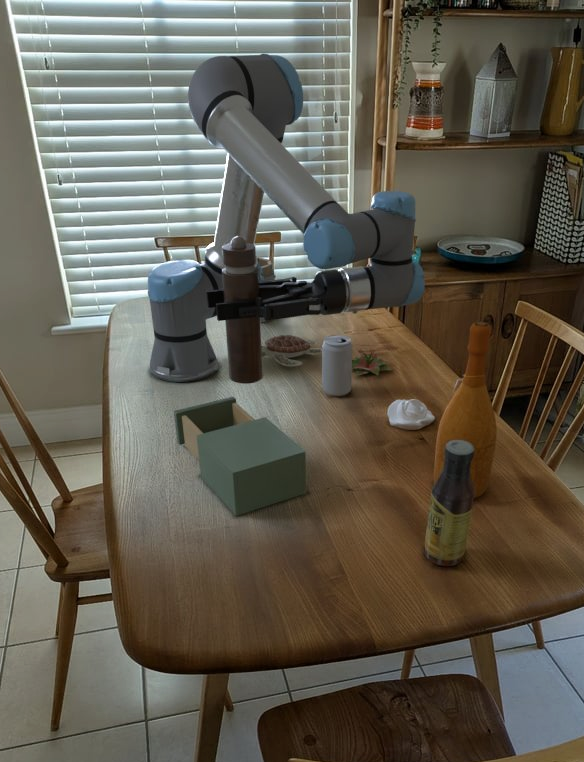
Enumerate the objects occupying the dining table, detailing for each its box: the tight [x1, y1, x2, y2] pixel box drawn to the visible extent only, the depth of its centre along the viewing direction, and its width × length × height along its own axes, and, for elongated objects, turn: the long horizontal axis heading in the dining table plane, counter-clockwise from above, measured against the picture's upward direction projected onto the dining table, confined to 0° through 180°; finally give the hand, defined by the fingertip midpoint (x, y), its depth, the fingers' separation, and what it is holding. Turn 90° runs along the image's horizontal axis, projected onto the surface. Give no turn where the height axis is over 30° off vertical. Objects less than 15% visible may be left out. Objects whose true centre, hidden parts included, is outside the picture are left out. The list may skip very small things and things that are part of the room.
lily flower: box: [352, 346, 393, 377], centre depth 169 cm, size 12×12×5 cm
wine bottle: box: [433, 321, 498, 499], centre depth 120 cm, size 10×10×30 cm
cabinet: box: [197, 416, 307, 517], centre depth 126 cm, size 14×13×8 cm
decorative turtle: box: [262, 334, 322, 368], centre depth 174 cm, size 18×17×5 cm
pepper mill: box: [222, 236, 264, 385], centre depth 124 cm, size 6×6×24 cm
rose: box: [387, 398, 436, 431], centre depth 148 cm, size 10×4×10 cm
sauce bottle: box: [424, 440, 475, 567], centre depth 107 cm, size 7×6×20 cm
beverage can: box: [321, 334, 353, 397], centre depth 157 cm, size 6×6×12 cm
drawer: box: [173, 396, 256, 462], centre depth 135 cm, size 15×12×7 cm
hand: (212, 305), depth 122 cm, fingers closed on pepper mill, 6 cm apart
